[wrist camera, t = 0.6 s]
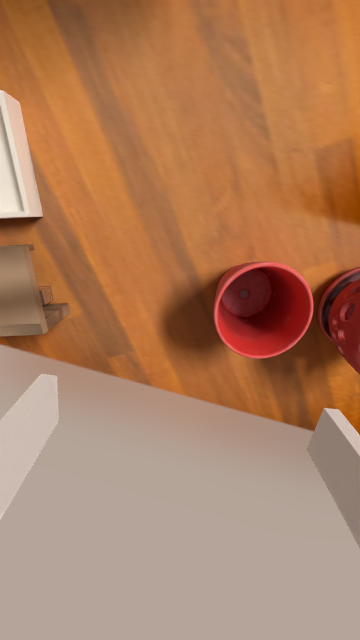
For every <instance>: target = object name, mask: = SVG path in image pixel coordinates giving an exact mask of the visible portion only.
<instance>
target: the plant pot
mask: <svg viewBox="0 0 360 640" xmlns="http://www.w3.org/2000/svg"><path fill="white" fill-rule="evenodd" d="M318 320H319V324H320V327H321V329H322V331H323V333H324V334H325V335H326V336H327V337H328V338H329V339H330V340H332V341H333V342H334V344H335V346H336V347H337V349H338V350H339V352H340V353H341V354H342V356H343V357H344V358H345V360H346V361H347V362H348V363H349V364H350V365H351V366H352V367H353V368H354V369H355V370H356V371H357V372H358V373H359V374H360V267H359V268H356V269H353V270H351V271H348V272H347V273H345V274H343V275H342V276H340V277H339V278H337V279H336V280H335V281H334V282H333V283H332V284H331V285H330V286H329V287H328V288H327V290H326V291H325V293H324V294H323V296H322V298H321V301H320V304H319V308H318Z"/></svg>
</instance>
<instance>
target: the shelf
mask: <svg viewBox="0 0 360 640" xmlns="http://www.w3.org/2000/svg"><path fill="white" fill-rule="evenodd" d="M32 250H34V247H33V244H32V245H11V246H0V336H20V335H44V334H45V333H46V332H47V331H48V330H50V329H51V328H52V327H53V326H54V325H56V324H57V323H58V322H59V321H60V320H62V319H63V318H64V317H65V316H66V315H68V314H69V313H70V310H69V305H68V303H61V304H46V305H42V302H41V298H40V294H39V289H38V285H37V281H36V276H35V272H34V268H33V264H32V259H31V255H30V251H32Z"/></svg>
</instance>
